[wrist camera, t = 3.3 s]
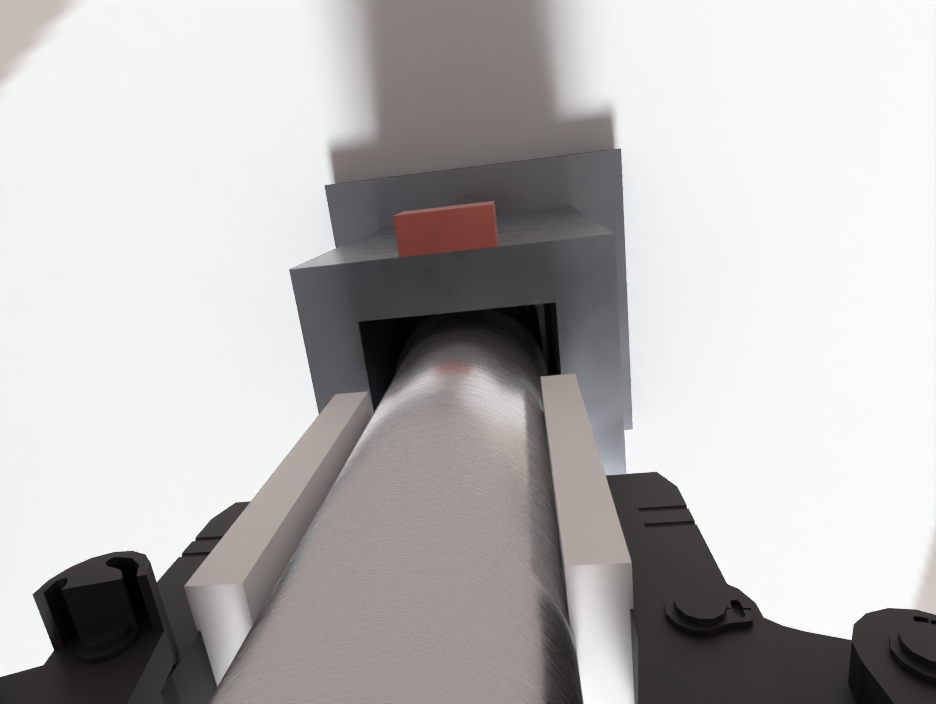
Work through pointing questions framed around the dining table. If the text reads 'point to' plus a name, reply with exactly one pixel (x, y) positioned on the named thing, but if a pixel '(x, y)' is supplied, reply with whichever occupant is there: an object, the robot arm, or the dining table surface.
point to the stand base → (477, 275)
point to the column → (430, 543)
